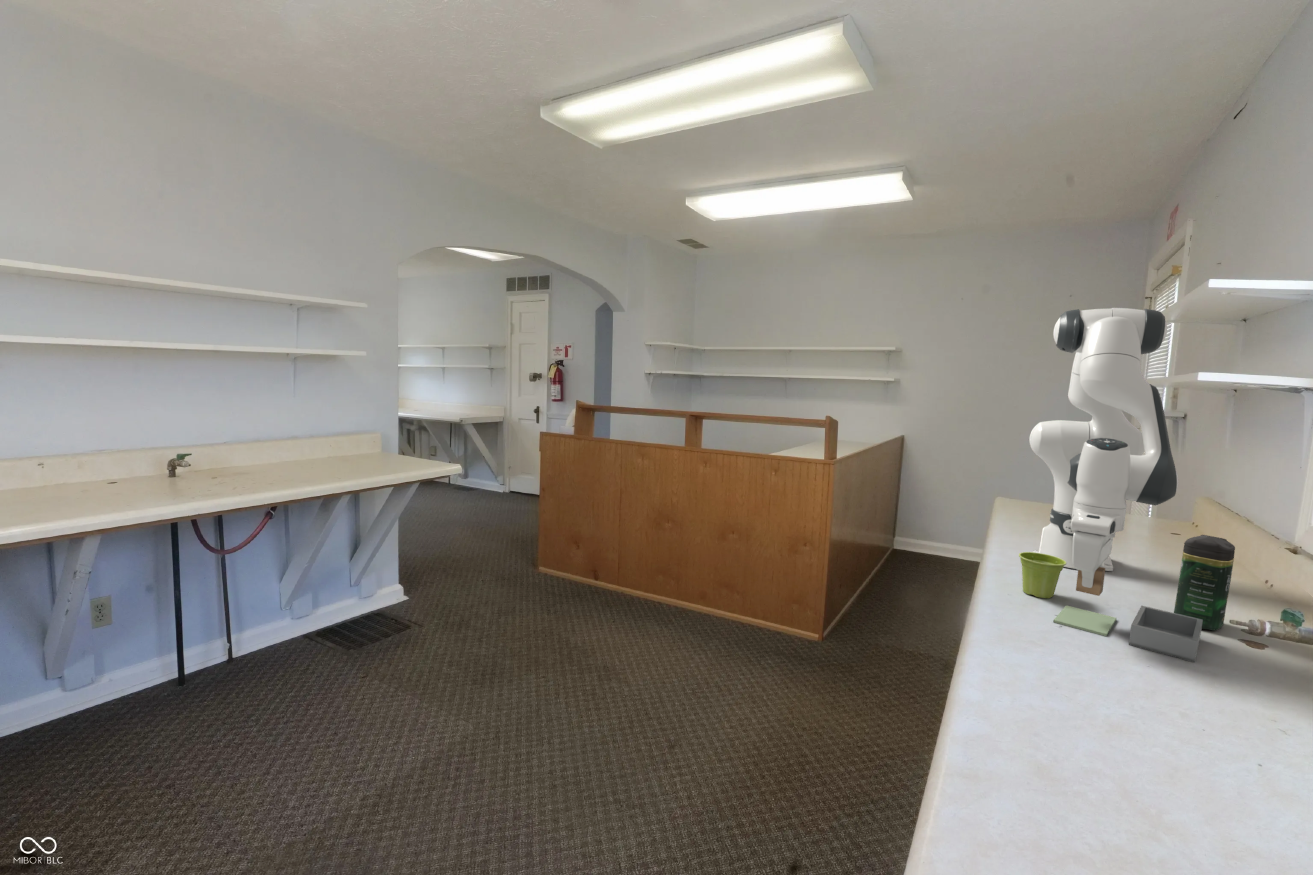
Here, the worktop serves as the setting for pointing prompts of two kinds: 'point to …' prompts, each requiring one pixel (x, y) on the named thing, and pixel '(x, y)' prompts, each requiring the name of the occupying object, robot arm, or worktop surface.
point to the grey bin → (1166, 633)
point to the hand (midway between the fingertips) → (1089, 583)
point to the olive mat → (1085, 620)
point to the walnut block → (1098, 582)
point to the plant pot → (1040, 573)
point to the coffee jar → (1205, 580)
